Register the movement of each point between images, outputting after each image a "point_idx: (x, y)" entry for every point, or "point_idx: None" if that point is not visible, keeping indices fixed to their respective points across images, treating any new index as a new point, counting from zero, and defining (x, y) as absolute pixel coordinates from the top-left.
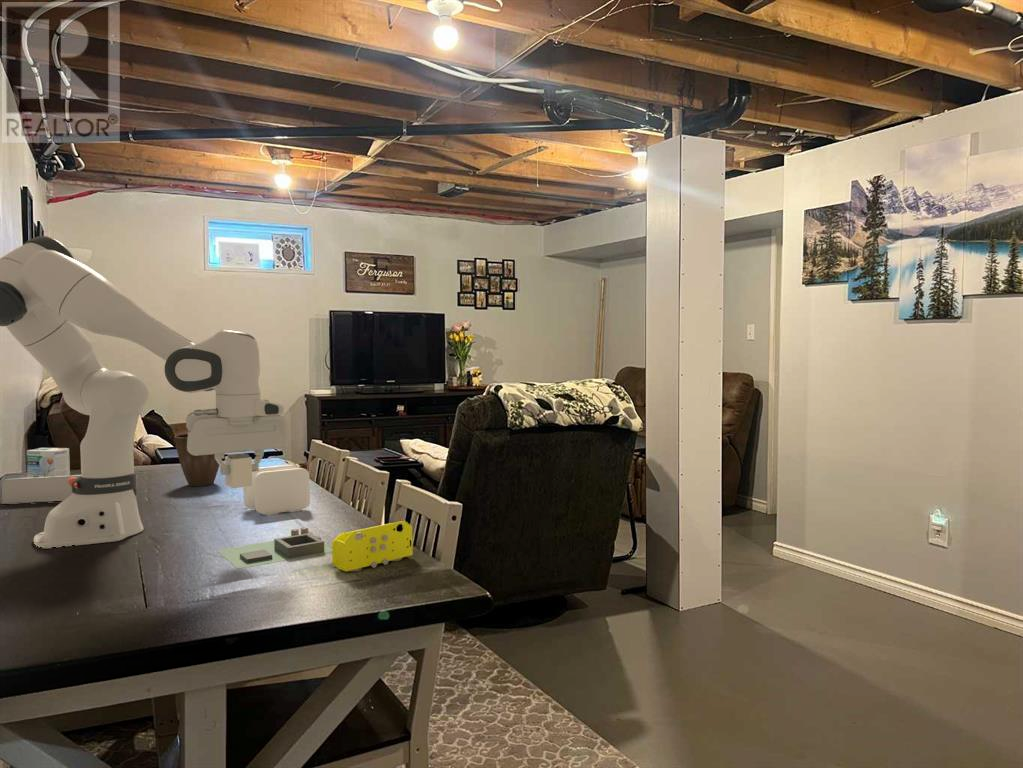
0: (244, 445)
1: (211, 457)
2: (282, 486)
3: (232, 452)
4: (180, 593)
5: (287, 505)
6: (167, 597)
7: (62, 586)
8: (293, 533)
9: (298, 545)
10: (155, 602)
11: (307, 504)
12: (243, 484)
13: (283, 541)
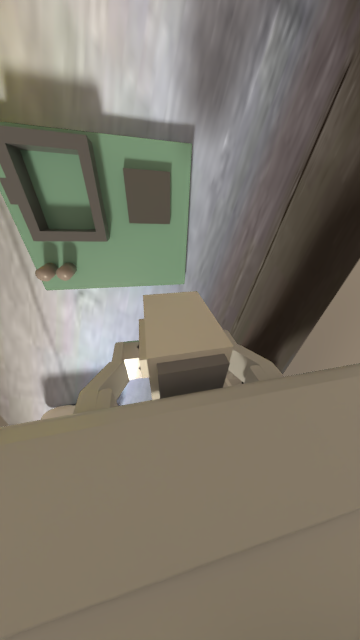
0: (187, 426)
1: None
2: None
3: (233, 386)
4: (284, 114)
5: (71, 411)
6: (305, 105)
7: (322, 264)
8: (68, 268)
9: (59, 140)
10: (328, 88)
11: (46, 413)
12: (169, 296)
13: (91, 208)
